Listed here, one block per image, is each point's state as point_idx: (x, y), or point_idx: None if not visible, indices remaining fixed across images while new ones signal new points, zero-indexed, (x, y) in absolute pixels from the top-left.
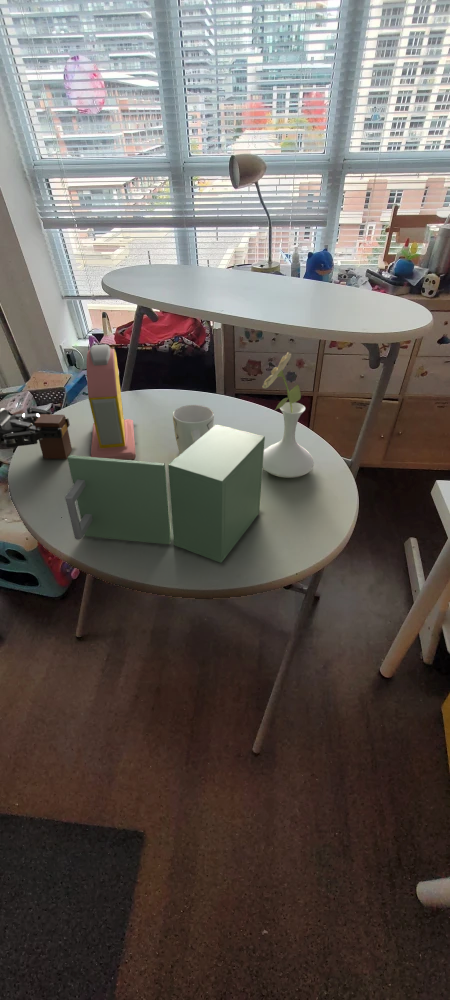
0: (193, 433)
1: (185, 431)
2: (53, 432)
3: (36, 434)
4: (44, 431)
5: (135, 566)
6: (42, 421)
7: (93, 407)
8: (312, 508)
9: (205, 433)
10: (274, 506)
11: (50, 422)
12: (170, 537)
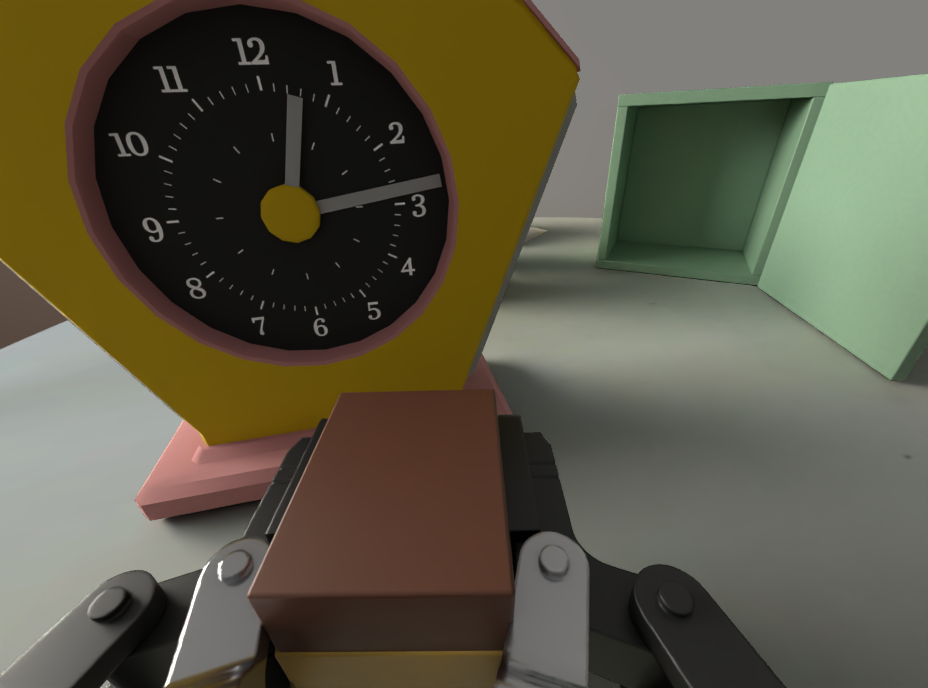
0: None
1: None
2: (551, 450)
3: (635, 576)
4: (560, 512)
5: None
6: (473, 504)
7: (556, 142)
8: (574, 227)
9: (666, 92)
10: (585, 240)
11: (487, 434)
12: (761, 276)
